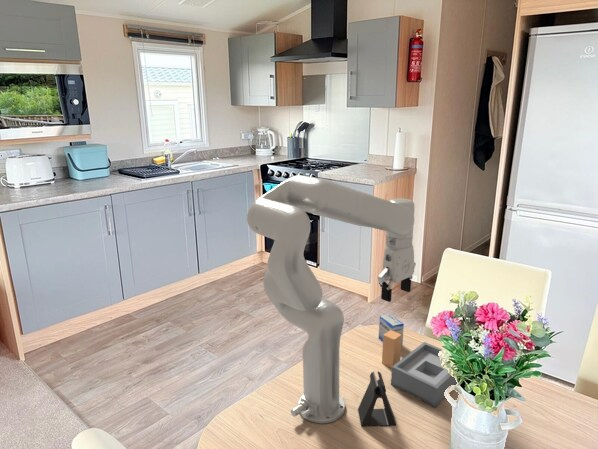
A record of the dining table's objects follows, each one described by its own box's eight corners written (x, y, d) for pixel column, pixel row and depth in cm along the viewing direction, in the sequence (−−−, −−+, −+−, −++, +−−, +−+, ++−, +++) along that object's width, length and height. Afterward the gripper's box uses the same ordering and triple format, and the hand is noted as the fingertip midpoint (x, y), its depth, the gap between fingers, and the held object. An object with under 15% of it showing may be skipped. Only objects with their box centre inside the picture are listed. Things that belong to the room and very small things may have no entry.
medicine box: (378, 338, 149) (378, 315, 147) (388, 335, 151) (389, 312, 149) (392, 349, 143) (393, 326, 140) (403, 346, 144) (404, 323, 142)
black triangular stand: (391, 409, 115) (393, 370, 112) (396, 426, 109) (398, 385, 106) (357, 410, 115) (358, 371, 112) (360, 426, 110) (361, 386, 106)
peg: (392, 368, 133) (394, 339, 130) (382, 363, 135) (383, 334, 133) (400, 362, 135) (401, 334, 132) (389, 357, 138) (390, 329, 135)
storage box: (435, 407, 116) (436, 388, 114) (390, 384, 125) (391, 366, 123) (465, 377, 128) (467, 359, 126) (423, 358, 137) (424, 341, 136)
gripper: (391, 251, 117) (388, 308, 122) (426, 237, 128) (422, 290, 133) (369, 244, 123) (367, 300, 127) (405, 232, 134) (402, 283, 138)
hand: (396, 295), depth 130 cm, fingers open, 9 cm apart
